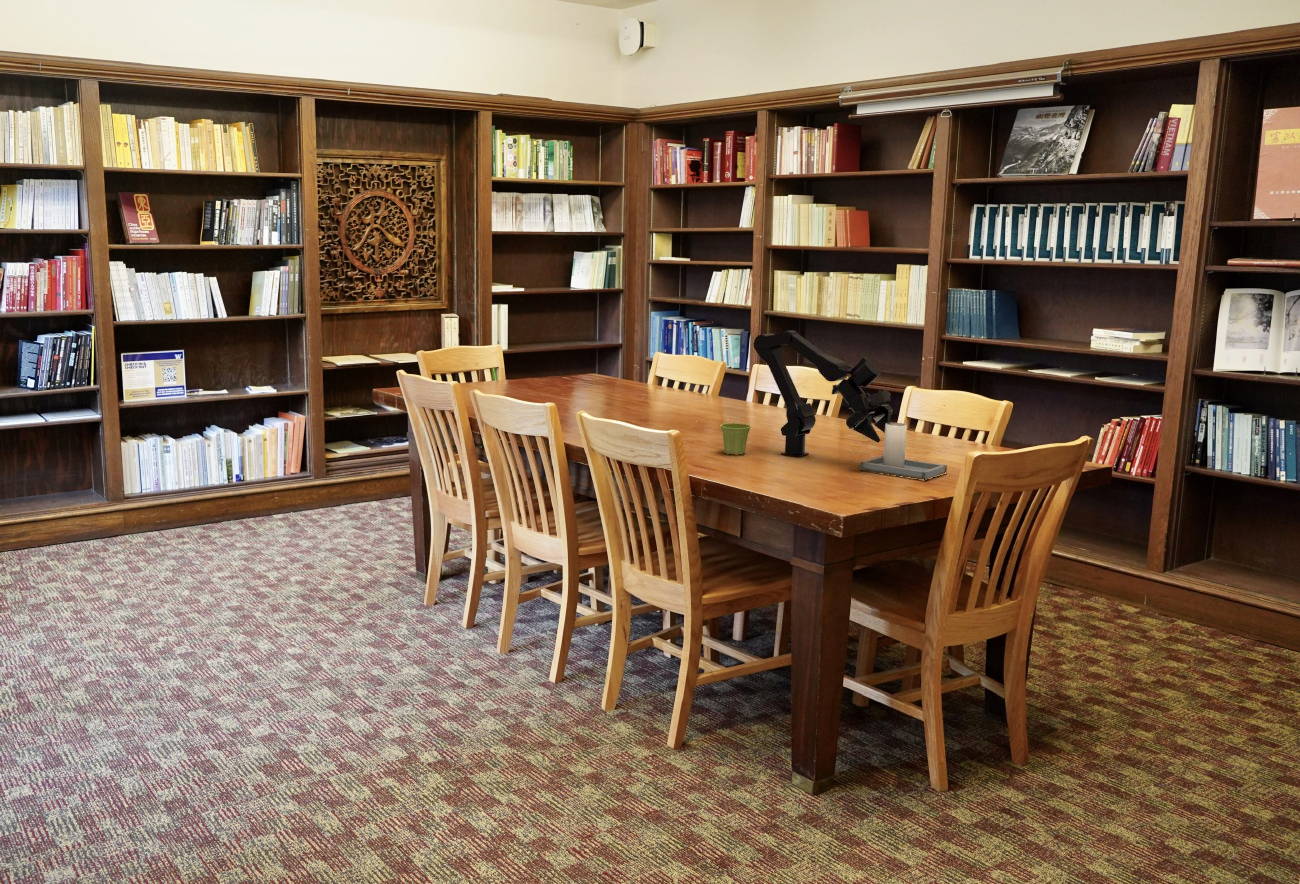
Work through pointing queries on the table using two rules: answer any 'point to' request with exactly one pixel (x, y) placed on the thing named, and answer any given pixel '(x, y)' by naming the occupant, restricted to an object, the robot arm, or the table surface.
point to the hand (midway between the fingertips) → (886, 439)
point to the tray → (910, 468)
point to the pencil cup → (894, 444)
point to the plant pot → (735, 437)
